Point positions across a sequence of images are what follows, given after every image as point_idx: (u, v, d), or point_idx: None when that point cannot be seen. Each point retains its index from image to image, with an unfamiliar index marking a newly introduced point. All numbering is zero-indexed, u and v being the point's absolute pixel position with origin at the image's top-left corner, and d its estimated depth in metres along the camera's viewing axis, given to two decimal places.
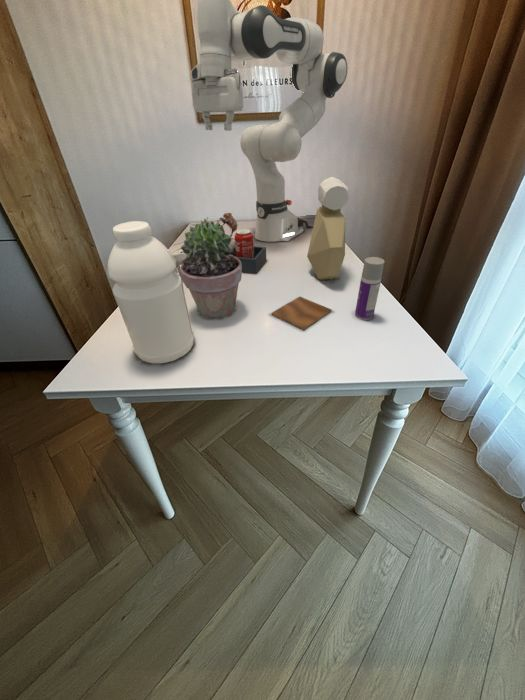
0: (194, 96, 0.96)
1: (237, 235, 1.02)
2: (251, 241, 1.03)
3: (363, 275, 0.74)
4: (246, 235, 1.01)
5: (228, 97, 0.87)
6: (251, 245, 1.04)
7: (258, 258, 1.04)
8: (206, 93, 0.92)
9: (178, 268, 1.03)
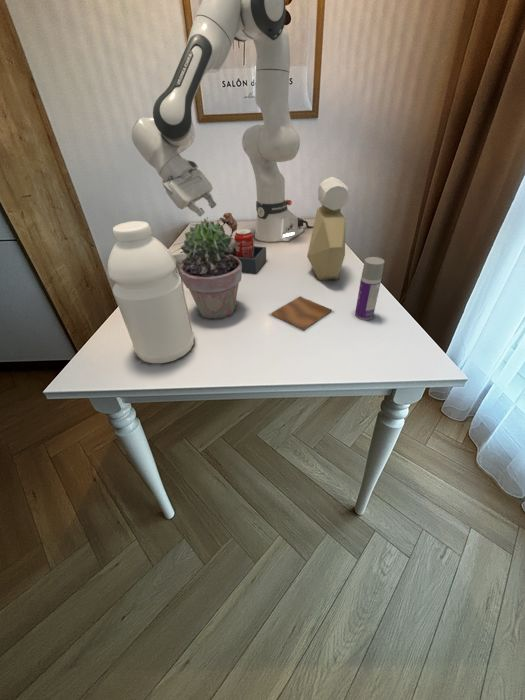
0: None
1: (237, 235, 1.02)
2: (251, 241, 1.03)
3: (363, 275, 0.74)
4: (246, 235, 1.01)
5: None
6: (251, 245, 1.04)
7: (258, 258, 1.04)
8: None
9: (178, 268, 1.03)
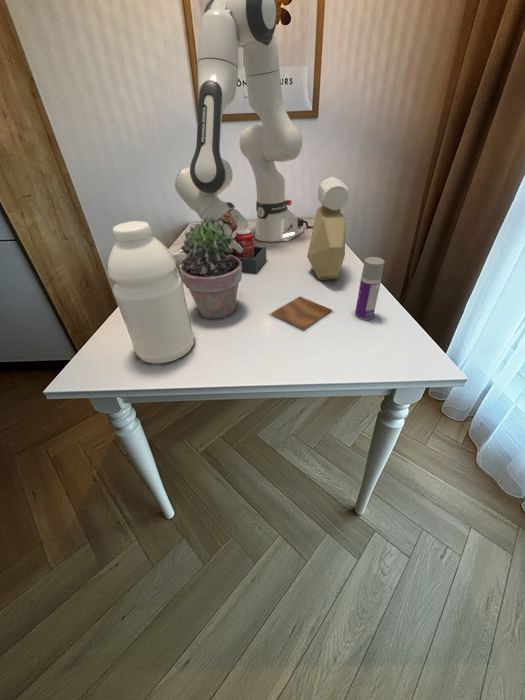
0: None
1: (237, 235, 1.02)
2: (251, 241, 1.03)
3: (363, 275, 0.74)
4: (246, 235, 1.01)
5: None
6: (251, 245, 1.04)
7: (258, 258, 1.04)
8: None
9: (178, 268, 1.03)
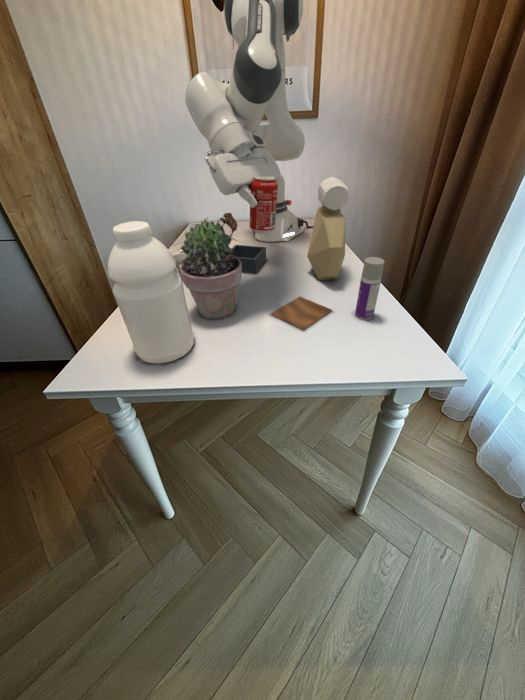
0: None
1: (253, 181, 0.70)
2: (272, 194, 0.70)
3: (363, 275, 0.74)
4: (266, 182, 0.69)
5: None
6: (271, 200, 0.71)
7: (258, 258, 1.04)
8: None
9: (178, 268, 1.03)
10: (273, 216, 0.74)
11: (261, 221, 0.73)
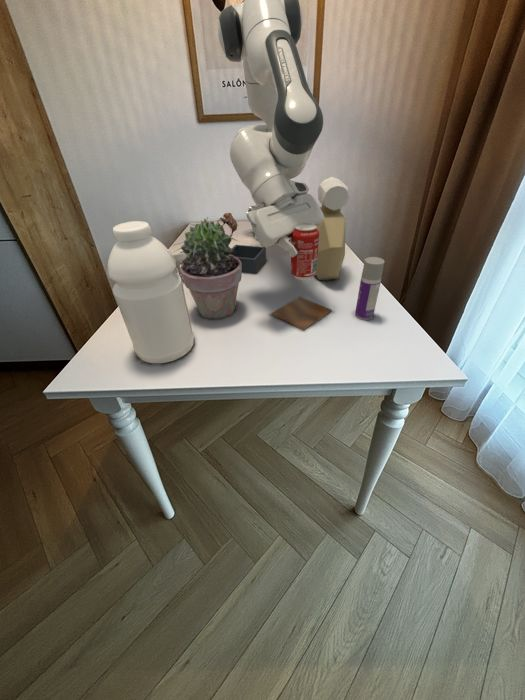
0: None
1: (294, 231, 0.70)
2: (312, 243, 0.69)
3: (363, 275, 0.74)
4: (306, 233, 0.68)
5: None
6: (312, 249, 0.70)
7: (258, 258, 1.04)
8: None
9: (178, 268, 1.03)
10: (314, 263, 0.73)
11: (301, 269, 0.73)
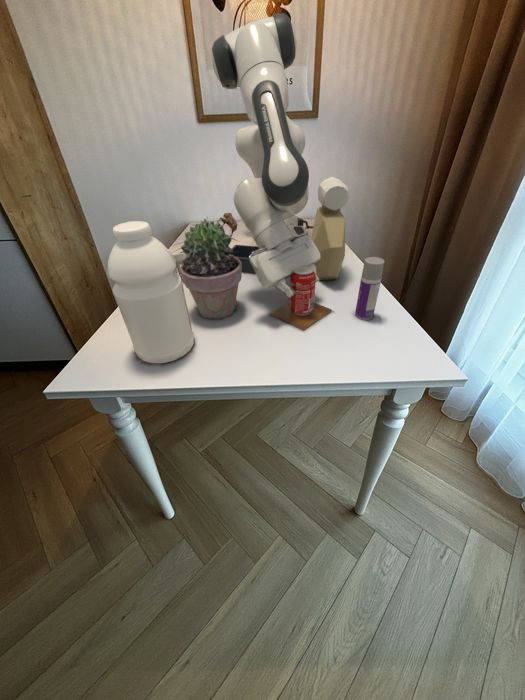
0: None
1: (293, 273, 0.76)
2: (310, 285, 0.76)
3: (363, 275, 0.74)
4: (304, 276, 0.74)
5: None
6: (309, 290, 0.76)
7: None
8: None
9: (178, 268, 1.03)
10: (311, 301, 0.79)
11: (299, 307, 0.79)
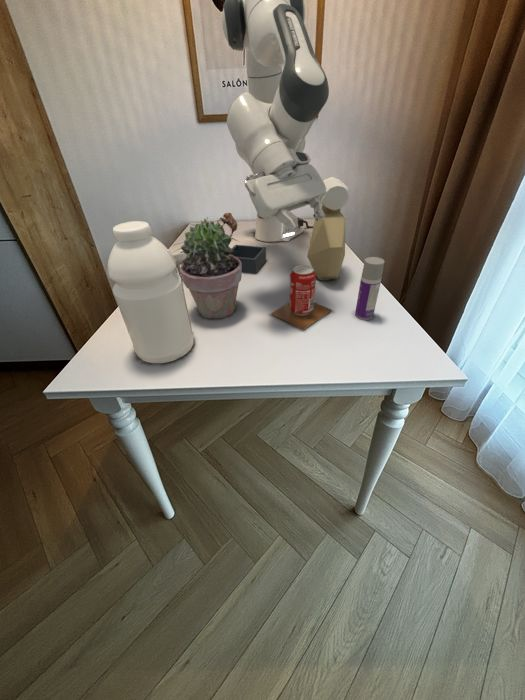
0: None
1: (293, 273, 0.76)
2: (310, 285, 0.76)
3: (363, 275, 0.74)
4: (304, 276, 0.74)
5: None
6: (309, 289, 0.76)
7: (258, 258, 1.04)
8: None
9: (178, 268, 1.03)
10: (311, 301, 0.79)
11: (299, 307, 0.79)
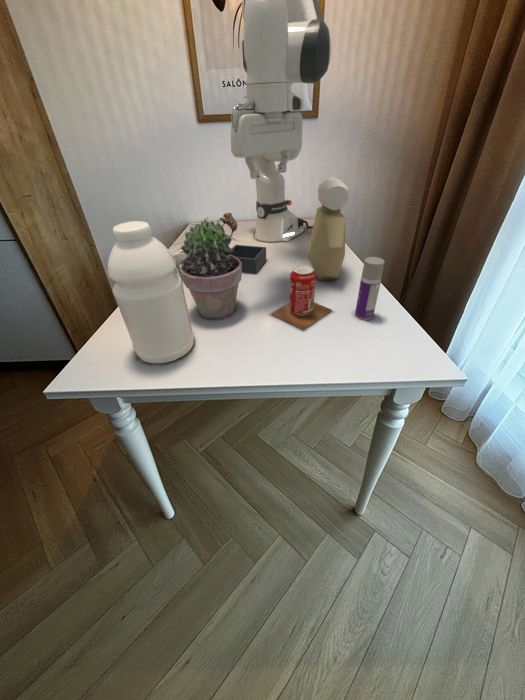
0: None
1: (293, 273, 0.76)
2: (310, 285, 0.76)
3: (363, 275, 0.74)
4: (304, 276, 0.74)
5: None
6: (309, 289, 0.76)
7: (258, 258, 1.04)
8: None
9: (178, 268, 1.03)
10: (311, 301, 0.79)
11: (299, 307, 0.79)
